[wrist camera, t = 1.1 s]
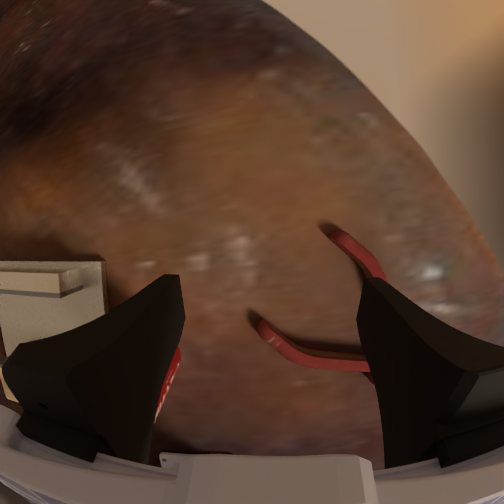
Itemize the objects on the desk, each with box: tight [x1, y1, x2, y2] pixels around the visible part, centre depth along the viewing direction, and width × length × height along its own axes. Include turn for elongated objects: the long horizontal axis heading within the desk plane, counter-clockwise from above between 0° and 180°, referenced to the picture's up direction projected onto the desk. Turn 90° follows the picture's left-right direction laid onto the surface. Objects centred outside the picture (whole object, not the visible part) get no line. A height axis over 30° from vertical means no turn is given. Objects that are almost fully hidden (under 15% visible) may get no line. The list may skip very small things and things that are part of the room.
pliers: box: [258, 231, 387, 384], centre depth 26 cm, size 12×20×3 cm, turn 50°
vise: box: [0, 260, 109, 357], centre depth 23 cm, size 16×14×5 cm
